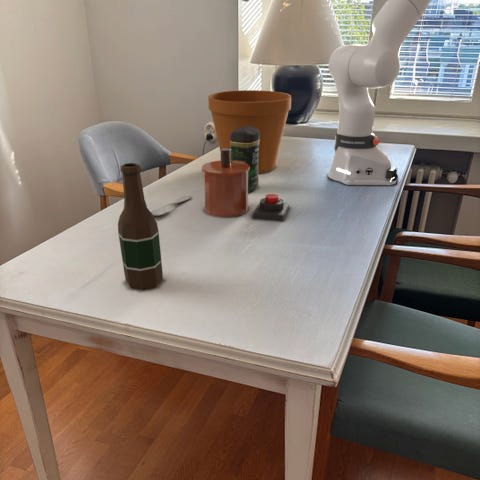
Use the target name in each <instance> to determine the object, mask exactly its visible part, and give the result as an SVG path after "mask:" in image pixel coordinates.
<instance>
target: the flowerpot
mask: <svg viewBox="0 0 480 480" xmlns="http://www.w3.org/2000/svg"><path fill="white" fill-rule="evenodd" d="M207 98H208V99H207V101H208V111H210V112H211V116H212V121H213V125H214V130H215V133H216V138H217V143H218V147H219V151H220V150H221V149H223V148H228V149H230V161H231V144H230V134H231V132H232V131H234V130H236V129H239V128H242V127H244V126H252V127H257V129H258V130H259V132H260V142H259V151H258V173H259V174H261V173H262V174H264V173H268V172H271V171H273V170H274V169H275V167H276V163H277V159H278V155H279V151H280V146H281V144H282V139H283V135H284V131H285V127H286V122H287V119H288V115H289V111H291V110H292V94H289V93H286V92H283V91H282V92H280V91H272V90H258V89H257V90H253V89H251V90H250V89H249V90H248V89H247V90H227V91H219V92H213V93H211V94H209V95H208V97H207ZM220 153H221V151H220Z"/></svg>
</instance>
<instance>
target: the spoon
mask: <svg viewBox="0 0 480 480" xmlns="http://www.w3.org/2000/svg"><path fill="white" fill-rule="evenodd" d="M190 199H191V197H190V196H183V197H181V198H180V199H177V200H175V201H173V202H170V203H168V204H164V205H161V206H159V207H157V208H155V209H153V210H152V211H150V212H151V213H152V214H153V216H154V217H160V216H163V215H165V214H166V213H167V210H166V208H167V207H169V206H172V205H175V204H180V203H184V202H186V201H189V200H190Z"/></svg>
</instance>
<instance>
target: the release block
mask: <svg viewBox="0 0 480 480" xmlns="http://www.w3.org/2000/svg"><path fill="white" fill-rule="evenodd" d="M265 200H266V197H263V198H261V199H260V200H259V203H258V205H257V207H256V208H255V210H254V212H253V220H262V221H263V220H264V221H277V222H283V221H284V220H285V217H286V214H287V212H288V210H289V207H290V205H289V204H290V202H289V201H285V200H284V199H283V198H280V197H279V202H278V203H274V204H271V203H266V202H265Z"/></svg>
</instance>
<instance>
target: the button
mask: <svg viewBox="0 0 480 480" xmlns="http://www.w3.org/2000/svg"><path fill="white" fill-rule="evenodd" d="M265 198H266V200H265V202H266V203H271V204H274V203H278V202H279V198H280V196H279V194H275V193H268V194H265Z"/></svg>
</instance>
